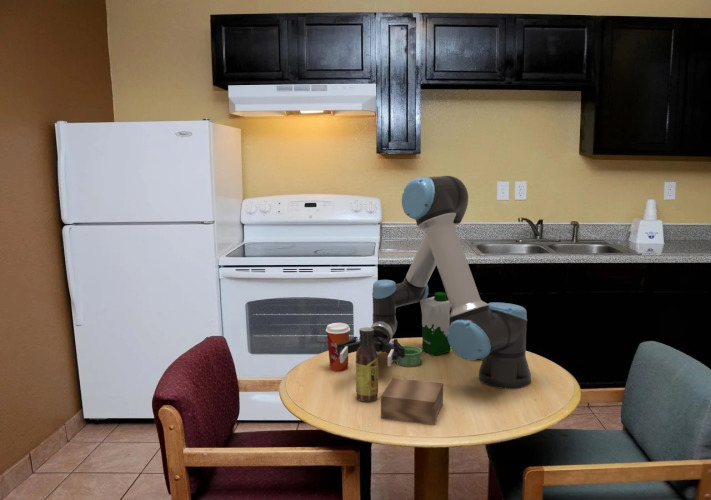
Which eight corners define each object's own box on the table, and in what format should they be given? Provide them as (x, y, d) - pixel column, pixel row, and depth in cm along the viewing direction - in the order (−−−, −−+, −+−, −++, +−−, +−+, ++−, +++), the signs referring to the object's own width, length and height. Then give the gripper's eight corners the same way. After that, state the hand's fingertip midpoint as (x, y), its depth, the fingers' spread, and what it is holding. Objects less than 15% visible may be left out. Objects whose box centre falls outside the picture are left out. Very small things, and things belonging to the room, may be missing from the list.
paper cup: (332, 374, 186) (330, 330, 183) (323, 366, 193) (322, 324, 190) (355, 369, 189) (354, 327, 186) (346, 362, 196) (344, 320, 193)
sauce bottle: (375, 403, 164) (374, 333, 160) (353, 401, 165) (352, 332, 162) (380, 394, 170) (380, 326, 167) (359, 392, 172) (358, 325, 168)
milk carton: (454, 351, 204) (454, 295, 199) (432, 357, 200) (431, 300, 195) (439, 343, 211) (438, 289, 206) (417, 349, 207) (416, 294, 202)
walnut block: (442, 403, 163) (443, 383, 162) (434, 424, 151) (434, 402, 150) (392, 398, 167) (392, 377, 166) (380, 418, 155) (380, 396, 154)
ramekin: (418, 368, 190) (418, 355, 189) (391, 366, 193) (391, 352, 192) (424, 359, 198) (424, 346, 197) (397, 356, 201) (397, 344, 200)
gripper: (418, 350, 186) (409, 375, 165) (340, 345, 191) (322, 369, 171) (418, 327, 185) (409, 349, 164) (340, 323, 190) (321, 344, 170)
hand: (364, 360), depth 167 cm, fingers open, 13 cm apart
